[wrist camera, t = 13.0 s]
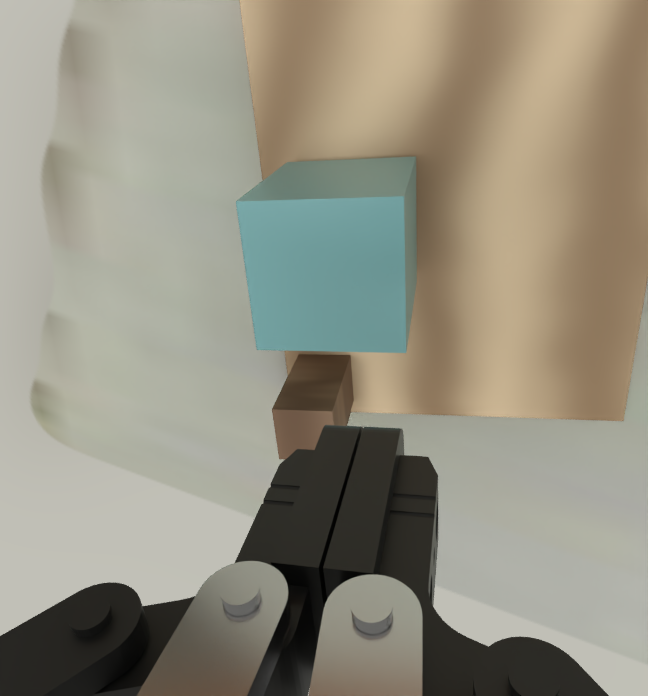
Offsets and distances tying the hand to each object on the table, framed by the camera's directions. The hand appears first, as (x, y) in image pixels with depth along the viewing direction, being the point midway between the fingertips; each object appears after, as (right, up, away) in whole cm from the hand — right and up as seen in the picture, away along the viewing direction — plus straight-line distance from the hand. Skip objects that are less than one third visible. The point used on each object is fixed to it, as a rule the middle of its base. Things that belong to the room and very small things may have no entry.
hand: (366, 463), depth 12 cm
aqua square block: (0, +8, +13) cm, 15 cm away
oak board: (+4, +10, +13) cm, 17 cm away
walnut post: (-1, +1, +19) cm, 19 cm away
